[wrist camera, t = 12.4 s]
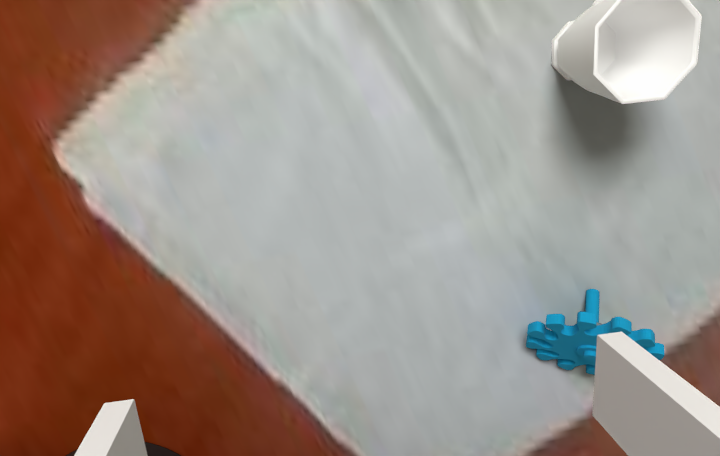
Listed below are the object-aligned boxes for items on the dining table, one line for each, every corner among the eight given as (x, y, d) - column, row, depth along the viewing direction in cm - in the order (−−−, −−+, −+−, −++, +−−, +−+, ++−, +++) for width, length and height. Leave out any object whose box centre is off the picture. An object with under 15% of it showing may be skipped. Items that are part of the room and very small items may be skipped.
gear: (498, 339, 42) (613, 320, 35) (506, 277, 45) (614, 247, 38) (580, 391, 47) (699, 383, 39) (583, 331, 50) (694, 313, 42)
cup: (517, 83, 38) (571, 86, 30) (570, -61, 36) (644, -97, 28) (600, 111, 39) (672, 121, 32) (657, -27, 37) (750, -52, 29)
